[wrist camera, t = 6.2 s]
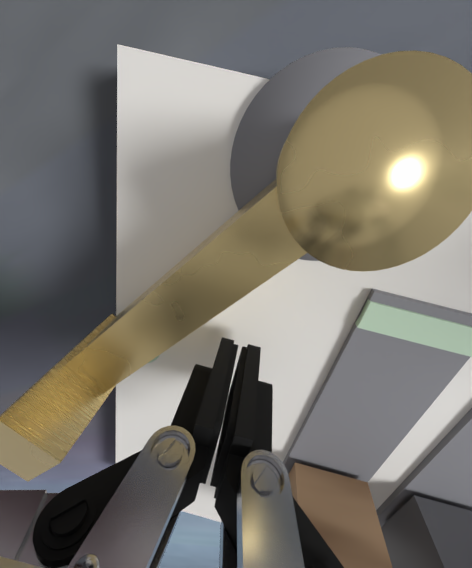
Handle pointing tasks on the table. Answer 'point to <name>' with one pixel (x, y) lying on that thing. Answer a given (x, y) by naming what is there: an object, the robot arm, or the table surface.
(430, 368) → the panel
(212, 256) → the brass lever
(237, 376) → the robot arm
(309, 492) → the walnut slider
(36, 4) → the table surface
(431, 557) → the gray slider
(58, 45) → the table surface
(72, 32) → the table surface
